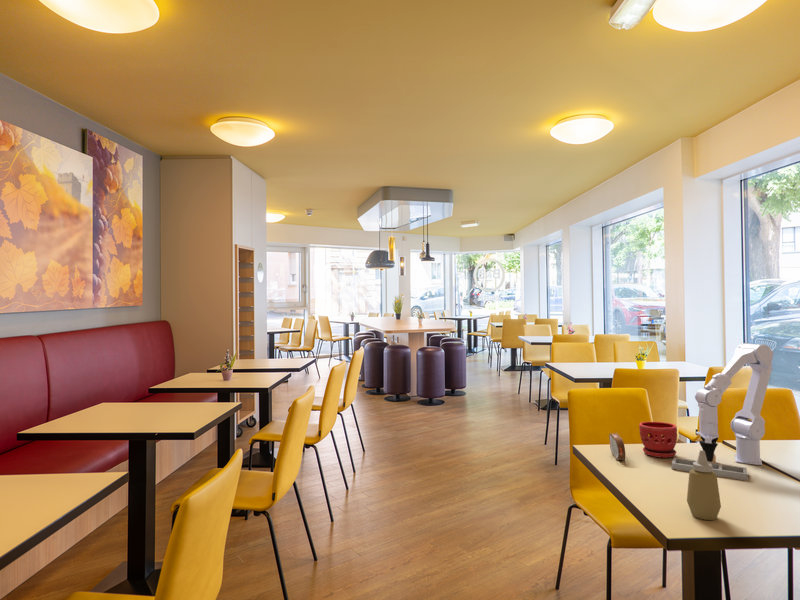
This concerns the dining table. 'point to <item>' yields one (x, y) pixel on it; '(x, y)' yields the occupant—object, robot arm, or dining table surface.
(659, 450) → the plant pot
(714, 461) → the egg
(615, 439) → the tin
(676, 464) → the grey compartment tray
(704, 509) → the squeeze bottle
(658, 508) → the dining table surface
